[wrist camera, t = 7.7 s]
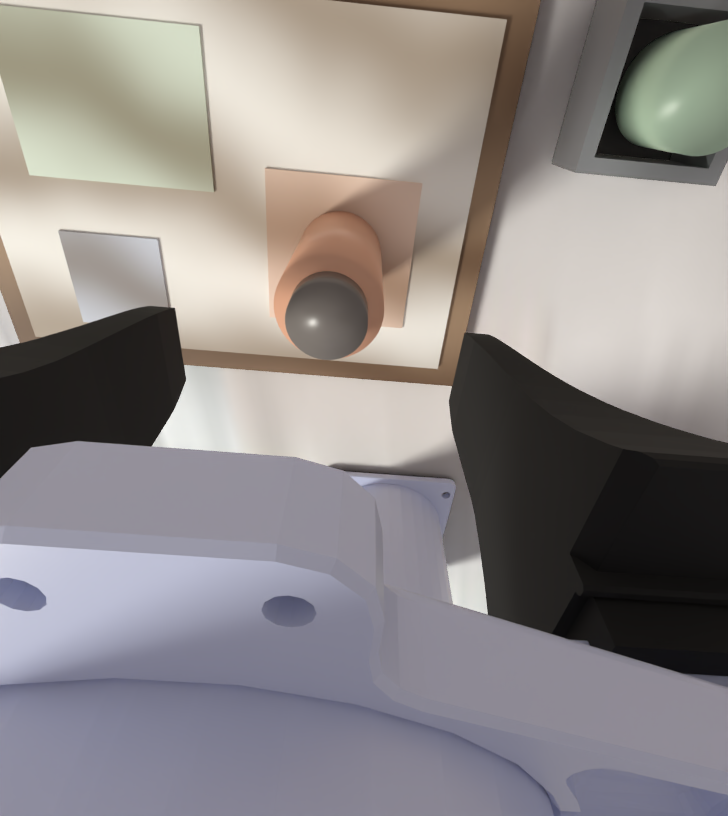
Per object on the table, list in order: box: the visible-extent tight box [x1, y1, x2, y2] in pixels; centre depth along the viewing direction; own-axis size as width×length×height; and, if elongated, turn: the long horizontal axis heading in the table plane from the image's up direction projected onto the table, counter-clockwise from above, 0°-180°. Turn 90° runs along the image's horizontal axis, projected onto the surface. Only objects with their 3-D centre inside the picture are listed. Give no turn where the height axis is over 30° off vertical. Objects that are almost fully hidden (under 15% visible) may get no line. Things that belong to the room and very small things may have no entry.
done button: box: [615, 20, 728, 156], centre depth 14 cm, size 3×3×3 cm
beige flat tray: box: [0, 0, 541, 386], centre depth 18 cm, size 15×21×1 cm
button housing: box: [552, 0, 728, 186], centre depth 16 cm, size 5×5×2 cm
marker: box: [274, 211, 384, 360], centre depth 16 cm, size 3×3×7 cm
